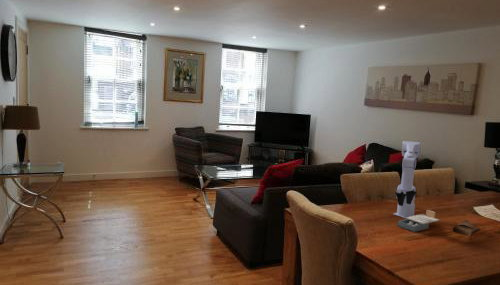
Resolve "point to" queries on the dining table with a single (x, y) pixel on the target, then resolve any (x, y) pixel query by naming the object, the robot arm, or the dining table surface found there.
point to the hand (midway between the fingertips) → (404, 204)
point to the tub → (412, 225)
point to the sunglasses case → (465, 228)
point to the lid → (424, 217)
